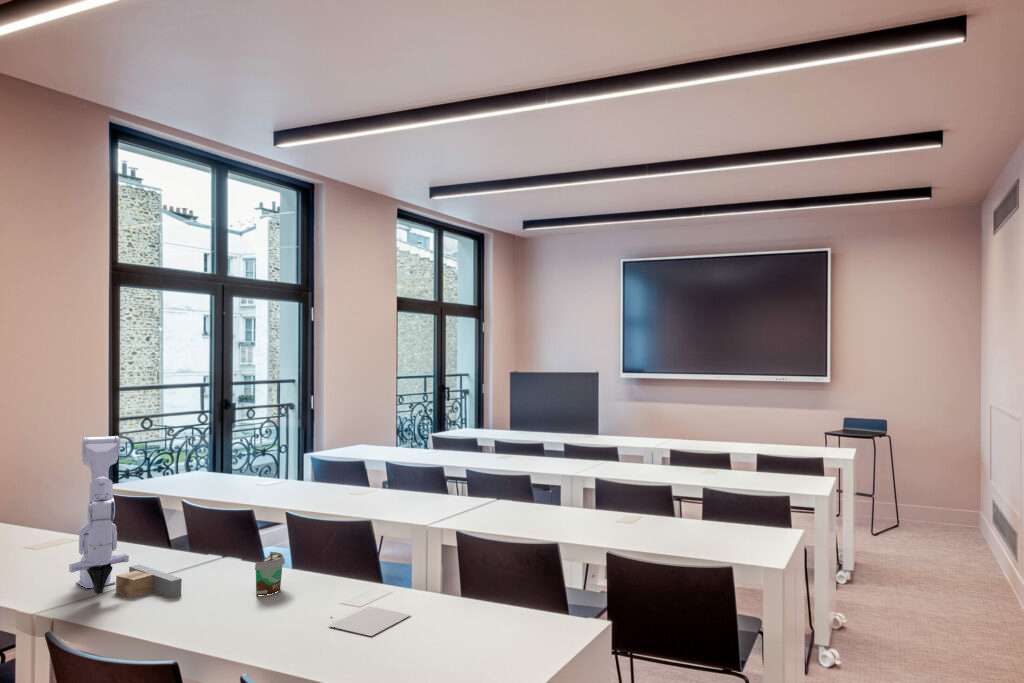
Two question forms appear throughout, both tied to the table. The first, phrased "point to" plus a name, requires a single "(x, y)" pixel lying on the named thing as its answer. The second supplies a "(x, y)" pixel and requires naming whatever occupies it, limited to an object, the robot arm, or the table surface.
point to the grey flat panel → (369, 620)
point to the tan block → (134, 583)
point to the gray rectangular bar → (161, 581)
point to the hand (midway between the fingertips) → (98, 592)
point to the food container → (269, 574)
